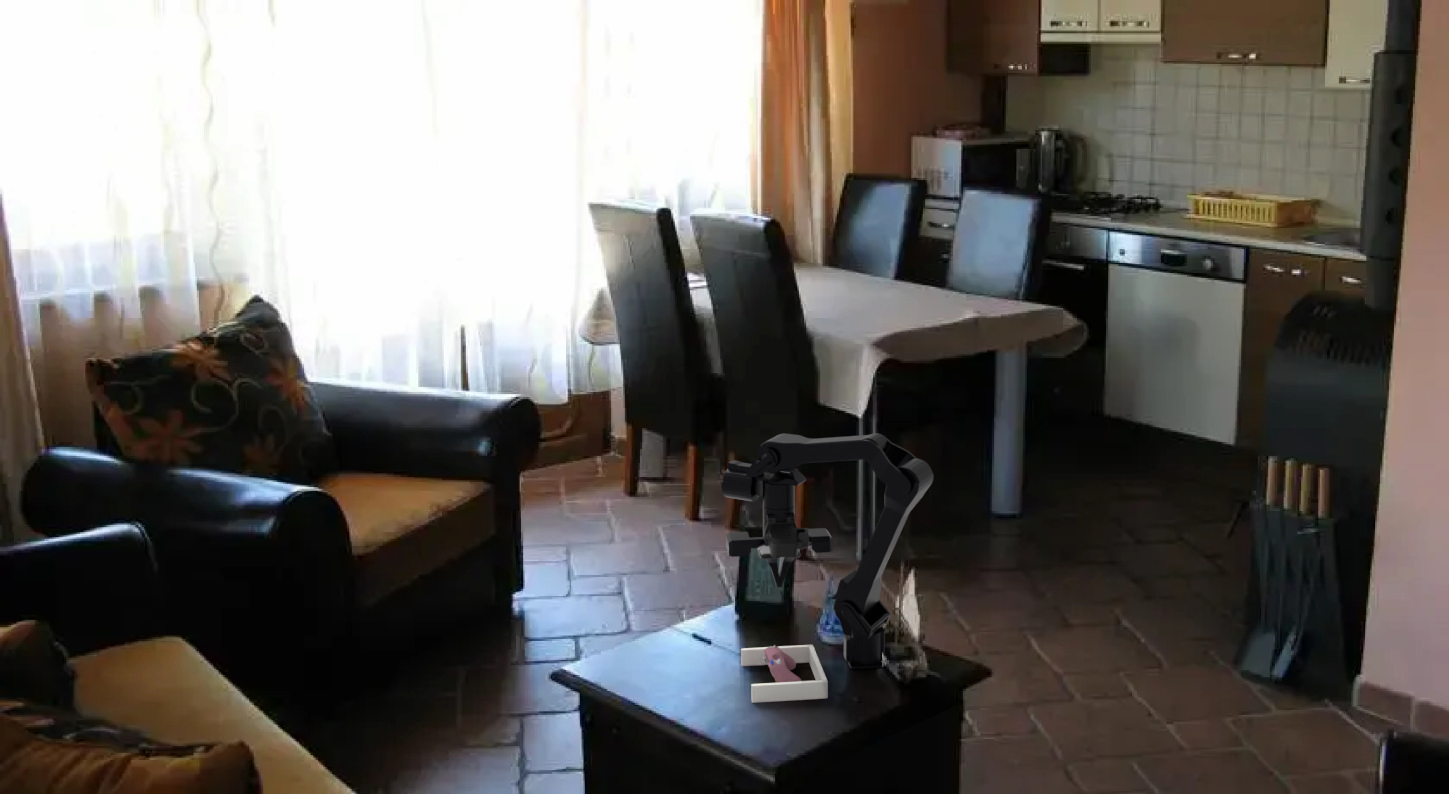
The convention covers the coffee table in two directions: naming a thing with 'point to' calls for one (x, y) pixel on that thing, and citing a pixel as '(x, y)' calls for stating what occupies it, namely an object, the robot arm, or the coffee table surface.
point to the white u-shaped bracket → (787, 689)
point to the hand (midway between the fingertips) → (779, 586)
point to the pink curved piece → (780, 665)
